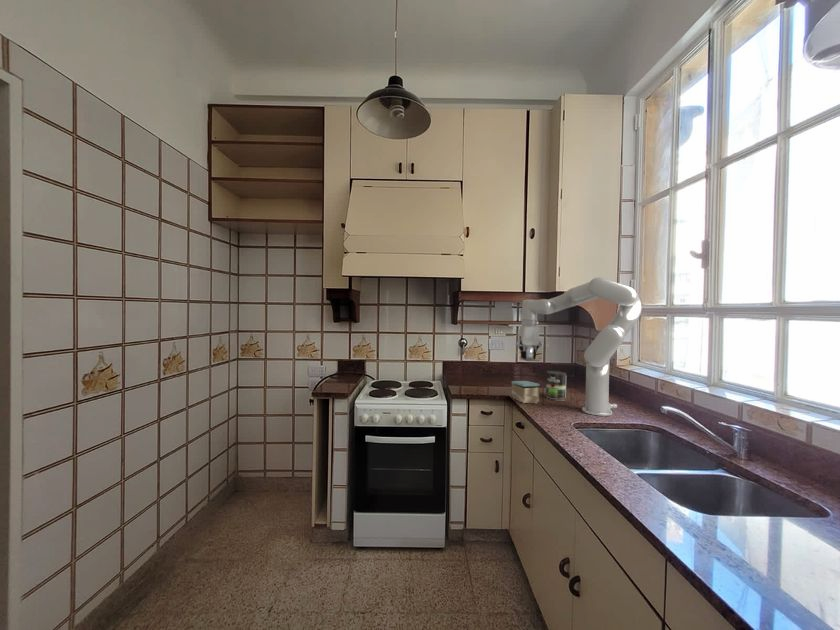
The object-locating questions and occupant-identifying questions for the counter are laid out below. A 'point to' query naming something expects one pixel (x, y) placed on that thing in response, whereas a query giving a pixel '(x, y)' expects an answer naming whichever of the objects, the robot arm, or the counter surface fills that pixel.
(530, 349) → the steel weight
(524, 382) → the lid
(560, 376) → the glass terrarium
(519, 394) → the box
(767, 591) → the counter surface
